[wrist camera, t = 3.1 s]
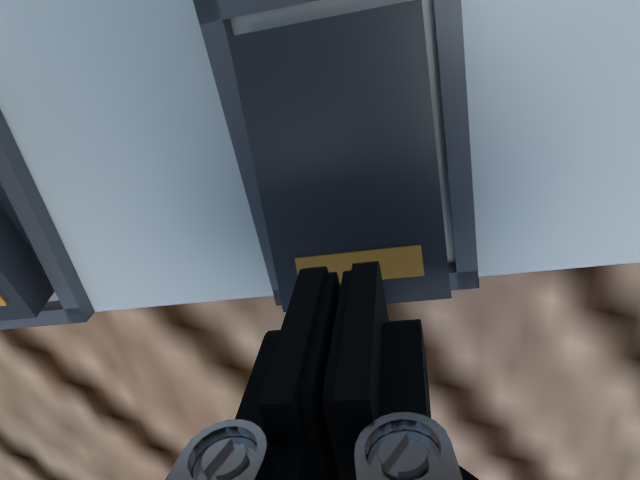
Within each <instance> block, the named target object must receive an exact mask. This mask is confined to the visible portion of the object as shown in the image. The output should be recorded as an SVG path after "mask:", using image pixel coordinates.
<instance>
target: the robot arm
mask: <svg viewBox="0 0 640 480" xmlns="http://www.w3.org/2000/svg"><path fill="white" fill-rule="evenodd" d="M165 480H479V479H477V478H476V477H474V476H473V475H472V474H470V473H469V472H468V471H466V470H465V469H463V468H462V467H461V466H459V465H458V462H457V459H456V456H455V453H454V450H453V446H452V443H451V440H450V438H449V437H448V435H447V433H446V431H445V429H444V428H442V427H441V426H440V425H439V424H438V423H437V422H436V421H435V420H433V419H431V411H430V398H429V386H428V375H427V365H426V356H425V348H424V340H423V332H422V325H421V319H416V320H403V321H390V322H389V319H388V313H387V306H386V300H385V294H384V288H383V281H382V275H381V269H380V264H379V261H372V262H362V263H353V264H352V269H351V270H350V271H343V275H342V281H341V287H340V283H339V278H338V274H337V272H329V271H328V269H327V267H326V266H322V267H313V268H303V269H300V271H299V274H298V277H297V280H296V283H295V286H294V289H293V293H292V296H291V299H290V302H289V305H288V309H287V312H286V315H285V318H284V321H283V324H282V328H281V330H274V331H268V332H267V333H266V334H265V336H264V339H263V341H262V344H261V347H260V350H259V353H258V356H257V358H256V361H255V364H254V367H253V370H252V373H251V375H250V378H249V381H248V384H247V387H246V390H245V392H244V395H243V398H242V401H241V404H240V407H239V409H238V412H237V415H236V418H235V420H226V421H222V422H219V423H215V424H213V425H211V426H209V427H208V428H206V429H204V430H202V431H201V432H200V433H198V434H197V435H196V436H195V437H194V438H192V439H191V441H190V442H189V443H188V444H187V446H186V447H185V448H184V449H183V451H182V453H181V454H180V456H179V458H178V459H177V461H176V463H175V464H174V466H173V468H172V469H171V471H170V473H169V474H168V476H167V478H166V479H165Z"/></svg>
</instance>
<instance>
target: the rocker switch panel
mask: <svg viewBox="0 0 640 480" xmlns="http://www.w3.org/2000/svg"><path fill="white" fill-rule="evenodd" d="M407 1H412V0H0V206H1V207H2V209H3V210H4V212H5V213H6V215H7V216H8V218H9V219H10V220H11V222H12V223H13V225H14V226H15V228H16V229H17V231H18V232H19V233H20V235H21V236H22V238H23V239H24V241H25V242H26V244H27V245H28V246H29V248H30V249H31V251H32V252H33V254H34V255H35V257H36V258H37V259H38V261H39V262H40V264H41V265H42V267H43V269H44V271H45V273H46V275H47V277H48V279H49V281H50V283H51V285H52V287H53V289H54V291H55V292H54V293H53V295H52V296H51V297H50V299H49V300H48V302H47V303H46V305H45V306H44V307H43V309H42V310H41V312H40V313H39V315H38V316H37V317H36V318H28V319H17V320H6V321H0V330H2V329H14V328H25V327H37V326H48V325H59V324H71V323H82V322H87V321H88V319H89V318H90V317H91V316H92V315H93V314H94V312H98V311H109V310H120V309H131V308H142V307H153V306H164V305H175V304H186V303H197V302H208V301H219V300H230V299H241V298H252V297H263V296H274V298H275V302H276V305H282V303H281V298H280V293H279V288H278V283H277V278H276V273H275V268H274V263H273V258H272V253H271V248H270V244H269V239H268V234H267V229H266V224H265V219H264V214H263V209H262V204H261V199H260V194H259V189H258V184H257V179H256V174H255V170H254V165H253V160H252V155H251V150H250V145H249V140H248V135H247V130H246V125H245V120H244V115H243V110H242V105H241V101H240V96H239V91H238V86H237V81H236V76H235V71H234V66H233V61H232V56H231V51H230V46H229V41H228V37H230V36H235V35H240V34H245V33H250V32H255V31H260V30H265V29H270V28H275V27H280V26H285V25H291V24H296V23H301V22H306V21H311V20H316V19H321V18H326V17H331V16H336V15H341V14H346V13H352V12H357V11H362V10H367V9H372V8H377V7H382V6H387V5H392V4H397V3H402V2H407ZM422 9H423V19H424V29H425V39H426V49H427V59H428V69H429V79H430V89H431V99H432V109H433V119H434V129H435V139H436V149H437V159H438V169H439V179H440V189H441V199H442V209H443V219H444V229H445V239H446V249H447V259H448V269H449V279H450V289H451V290H461V289H472V288H479V277H482V276H493V275H504V274H515V273H526V272H537V271H548V270H559V269H570V268H581V267H591V266H602V265H613V264H624V263H635V262H640V0H422Z"/></svg>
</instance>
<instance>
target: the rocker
mask: <svg viewBox="0 0 640 480" xmlns="http://www.w3.org/2000/svg"><path fill="white" fill-rule="evenodd" d="M54 292H55V291H54V289H53V287H52V285H51V283H50V281H49V279H48V277H47V275H46V273H45V271H44V269H43V267H42V265H41V264H40V262H39V261H38V259H37V258H36V257H35V255H34V254H33V252H32V251H31V249H30V248H29V246H28V245H27V244H26V242H25V241H24V239H23V238H22V236H21V235H20V233H19V232H18V231H17V229H16V228H15V226H14V225H13V223H12V222H11V220H10V219H9V218H8V216H7V215H6V213H5V212H4V210H3V209H2V207H1V206H0V321H6V320H17V319H28V318H36V317H37V316H38V315H39V313H40V312H41V310H42V309H43V307H44V306H45V305H46V303H47V302H48V300H49V299H50V297H51V296H52V295H53V293H54Z"/></svg>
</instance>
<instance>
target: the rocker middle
mask: <svg viewBox="0 0 640 480" xmlns="http://www.w3.org/2000/svg"><path fill="white" fill-rule="evenodd" d="M228 41H229V46H230V51H231V56H232V61H233V66H234V71H235V76H236V81H237V86H238V91H239V96H240V101H241V105H242V110H243V115H244V120H245V125H246V130H247V135H248V140H249V145H250V150H251V155H252V160H253V165H254V170H255V174H256V179H257V184H258V189H259V194H260V199H261V204H262V209H263V214H264V219H265V224H266V229H267V234H268V239H269V244H270V248H271V253H272V258H273V263H274V268H275V273H276V278H277V283H278V288H279V293H280V298H281V303H282V308H283V312H287V309H288V305H289V302H290V299H291V296H292V293H293V289H294V286H295V283H296V280H297V277H298V274H299V271H300V269H303V268H313V267H322V266H326V267H327V269H328V271H329V272H337V274H338V278H339V283H340V287H341V281H342V275H343V271H350V270H351V269H352V264H353V263H362V262H372V261H379V264H380V269H381V275H382V281H383V288H384V294H385V300H386V304H388V303H400V302H412V301H424V300H435V299H447V298H451V289H450V279H449V269H448V259H447V249H446V239H445V229H444V219H443V209H442V199H441V189H440V179H439V169H438V159H437V149H436V139H435V129H434V119H433V109H432V99H431V89H430V79H429V69H428V59H427V49H426V39H425V29H424V19H423V9H422V0H412V1H407V2H402V3H397V4H392V5H387V6H382V7H377V8H372V9H367V10H362V11H357V12H352V13H346V14H341V15H336V16H331V17H326V18H321V19H316V20H311V21H306V22H301V23H296V24H291V25H285V26H280V27H275V28H270V29H265V30H260V31H255V32H250V33H245V34H240V35H235V36H230V37H228Z"/></svg>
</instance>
